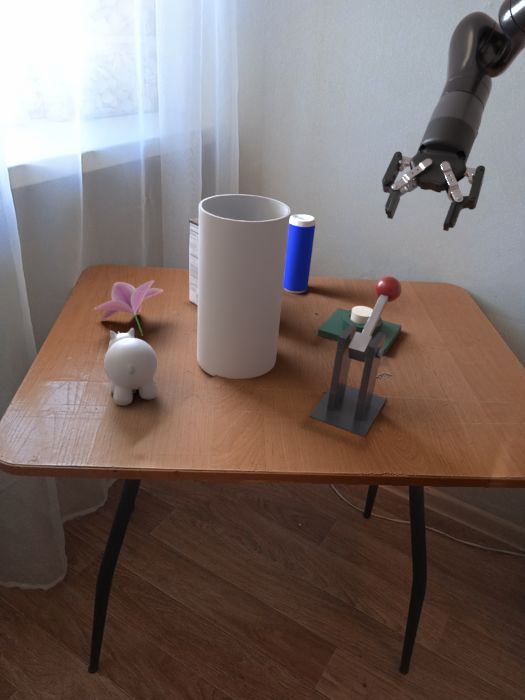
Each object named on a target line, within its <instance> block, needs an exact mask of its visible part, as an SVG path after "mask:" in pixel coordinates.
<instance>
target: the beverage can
mask: <svg viewBox="0 0 525 700" xmlns="http://www.w3.org/2000/svg"><path fill="white" fill-rule="evenodd" d="M315 231H316V219H315V217H314V216H312V215H310V214H305V213H295V214H292V215H290V221H289V232H288V242H287V252H286V262H285V273H284V283H283V290H284V291H286V292H287V293H290V294H302V293H305V292H306V291H307V290H308V288H309V279H310V274H311V273H310V272H311V263H312V256H313V255H312V254H313V247H314V238H315Z"/></svg>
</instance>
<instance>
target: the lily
mask: <svg viewBox="0 0 525 700" xmlns="http://www.w3.org/2000/svg"><path fill="white" fill-rule="evenodd" d="M154 283H155V279H152V280H149V281H147V282H145V283H143V284H140V285H139V286H138V287H137V288H136V287H135V286H133V284H130V283H128V282H124V281H116V282H114V283H113V285H112V287H111V300H108V301H105V302H103V303H101V304H98V305H97V306H96V307H94V308H92V310H93V311H102V310H103V313H102V315H101V317H100V321H101V322H104V321H105V320H107V319H108V318H107V317H109V318H110V317H112V316H114V315H116V314H118V313H120V312H123V313H129V314H133V316H134V319H135V322H136V324H137V327H138V329H139V333H140V335H141V337H143V336H144V333H143V330H142V328H141V325H140V323H139V319H138V317H137V316H138V315H139V314H140V313H141V310H142V302H144V301H145V300H147V299H149V298H152V297H153V296H156V295H159V294H161V293H163V292H164V291H165V289H163V288H157V287H152V285H153V284H154ZM138 312H140V313H138ZM103 318H106V319H103ZM101 319H103V320H101ZM141 333H143V334H141Z"/></svg>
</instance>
